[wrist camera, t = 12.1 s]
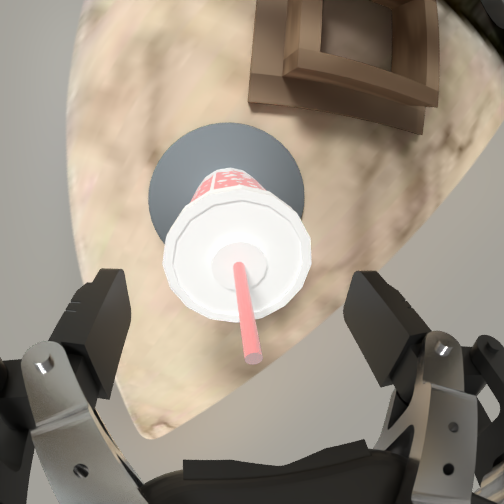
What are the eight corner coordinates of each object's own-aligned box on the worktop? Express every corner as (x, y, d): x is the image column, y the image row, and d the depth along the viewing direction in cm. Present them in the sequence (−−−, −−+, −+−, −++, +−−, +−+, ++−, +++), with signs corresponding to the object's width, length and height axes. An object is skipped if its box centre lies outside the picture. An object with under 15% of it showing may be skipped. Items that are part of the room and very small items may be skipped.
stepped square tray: (262, -53, 11) (273, -83, 7) (419, -4, 13) (450, -15, 9) (247, 102, 17) (257, 97, 13) (416, 133, 19) (452, 141, 15)
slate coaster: (150, 122, 17) (148, 122, 16) (310, 129, 18) (312, 130, 18) (154, 267, 22) (153, 270, 21) (291, 268, 23) (293, 272, 23)
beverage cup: (204, 252, 21) (200, 429, 9) (170, 176, 18) (87, 305, 6) (283, 223, 21) (369, 378, 8) (256, 143, 18) (349, 210, 5)
